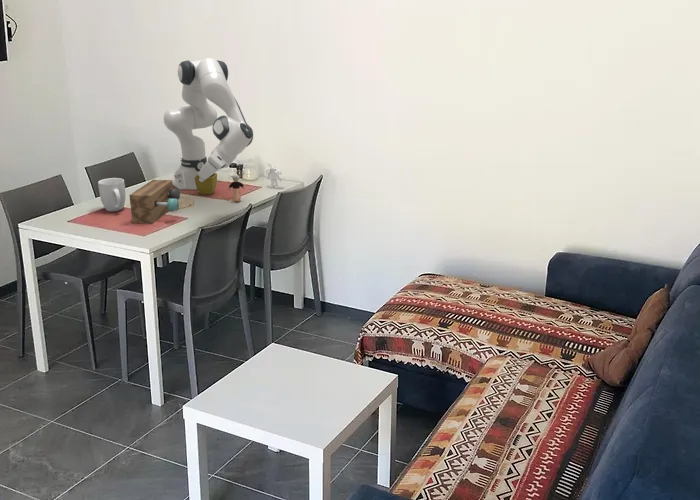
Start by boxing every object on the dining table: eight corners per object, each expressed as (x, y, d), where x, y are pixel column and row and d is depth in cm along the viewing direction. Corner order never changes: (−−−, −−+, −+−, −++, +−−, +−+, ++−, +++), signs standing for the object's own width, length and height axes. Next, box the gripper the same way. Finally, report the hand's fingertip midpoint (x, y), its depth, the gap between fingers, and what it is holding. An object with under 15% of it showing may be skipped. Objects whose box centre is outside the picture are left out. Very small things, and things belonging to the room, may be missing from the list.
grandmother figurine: (230, 203, 343) (228, 176, 338) (228, 201, 346) (226, 174, 342) (246, 201, 345) (245, 174, 341) (244, 199, 349) (242, 172, 344)
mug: (133, 212, 331) (130, 183, 327) (108, 216, 326) (104, 187, 321) (122, 204, 343) (119, 176, 339) (98, 208, 337) (94, 180, 333)
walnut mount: (174, 206, 340) (172, 180, 335) (152, 223, 316) (150, 195, 312) (155, 205, 341) (152, 179, 337) (132, 222, 318) (129, 195, 314)
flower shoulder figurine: (264, 187, 367) (263, 163, 363) (269, 185, 371) (267, 161, 366) (280, 189, 363) (278, 165, 359) (284, 187, 366) (283, 163, 362)
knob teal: (179, 208, 321) (177, 197, 319) (174, 212, 316) (173, 200, 314) (159, 207, 322) (158, 196, 320) (155, 211, 317) (154, 199, 315)
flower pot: (218, 191, 362) (217, 172, 359) (214, 196, 354) (212, 177, 351) (200, 190, 363) (199, 172, 360) (195, 195, 355) (194, 177, 352)
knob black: (180, 198, 335) (179, 187, 333) (176, 201, 331) (175, 190, 329) (161, 197, 336) (160, 186, 335) (157, 200, 332) (156, 189, 330)
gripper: (223, 146, 317) (203, 169, 322) (208, 156, 298) (186, 180, 303) (235, 157, 318) (214, 179, 323) (220, 168, 299) (198, 191, 303)
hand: (201, 180), depth 312 cm, fingers closed
